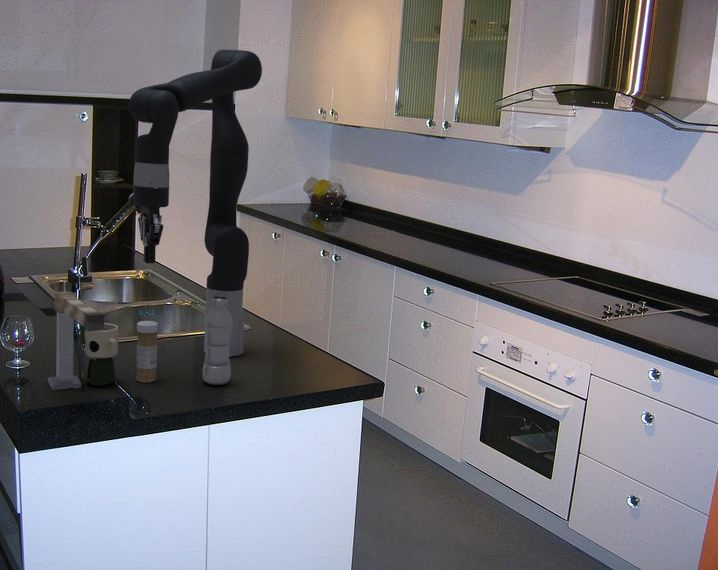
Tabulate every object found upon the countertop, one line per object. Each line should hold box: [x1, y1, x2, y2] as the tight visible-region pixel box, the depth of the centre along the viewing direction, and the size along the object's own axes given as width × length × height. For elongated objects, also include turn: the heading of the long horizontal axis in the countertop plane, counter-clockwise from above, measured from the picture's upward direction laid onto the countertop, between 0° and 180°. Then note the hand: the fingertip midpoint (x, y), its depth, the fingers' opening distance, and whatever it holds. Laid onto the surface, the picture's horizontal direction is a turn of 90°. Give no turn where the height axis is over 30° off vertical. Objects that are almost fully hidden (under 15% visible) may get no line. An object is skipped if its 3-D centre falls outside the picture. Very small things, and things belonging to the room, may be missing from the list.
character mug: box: [83, 322, 119, 386], centre depth 190 cm, size 11×7×13 cm, turn 48°
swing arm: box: [53, 291, 105, 331], centre depth 178 cm, size 22×4×4 cm, turn 36°
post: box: [47, 311, 82, 391], centre depth 187 cm, size 6×6×16 cm
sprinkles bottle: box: [135, 320, 159, 384], centre depth 195 cm, size 5×5×14 cm
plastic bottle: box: [202, 296, 233, 386], centre depth 195 cm, size 6×7×20 cm
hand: (149, 262), depth 191 cm, fingers closed
